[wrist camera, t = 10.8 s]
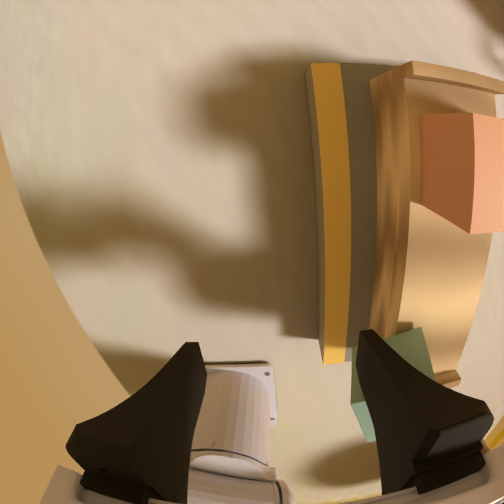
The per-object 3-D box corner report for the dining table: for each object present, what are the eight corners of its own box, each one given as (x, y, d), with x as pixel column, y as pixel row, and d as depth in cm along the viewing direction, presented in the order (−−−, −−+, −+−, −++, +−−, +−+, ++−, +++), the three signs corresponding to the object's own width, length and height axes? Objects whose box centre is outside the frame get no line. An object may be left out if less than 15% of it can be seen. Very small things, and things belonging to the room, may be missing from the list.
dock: (443, 320, 23) (458, 340, 20) (318, 339, 24) (323, 364, 21) (460, 85, 15) (483, 82, 12) (304, 73, 16) (311, 63, 14)
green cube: (428, 373, 15) (438, 425, 11) (368, 390, 16) (367, 442, 13) (421, 326, 14) (435, 381, 10) (352, 347, 15) (350, 404, 12)
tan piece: (429, 337, 20) (458, 385, 15) (366, 348, 20) (385, 403, 15) (448, 88, 13) (505, 82, 8) (369, 79, 14) (411, 60, 9)
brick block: (483, 202, 11) (535, 228, 8) (420, 204, 12) (469, 234, 8) (484, 122, 10) (540, 128, 6) (418, 114, 10) (472, 113, 7)
